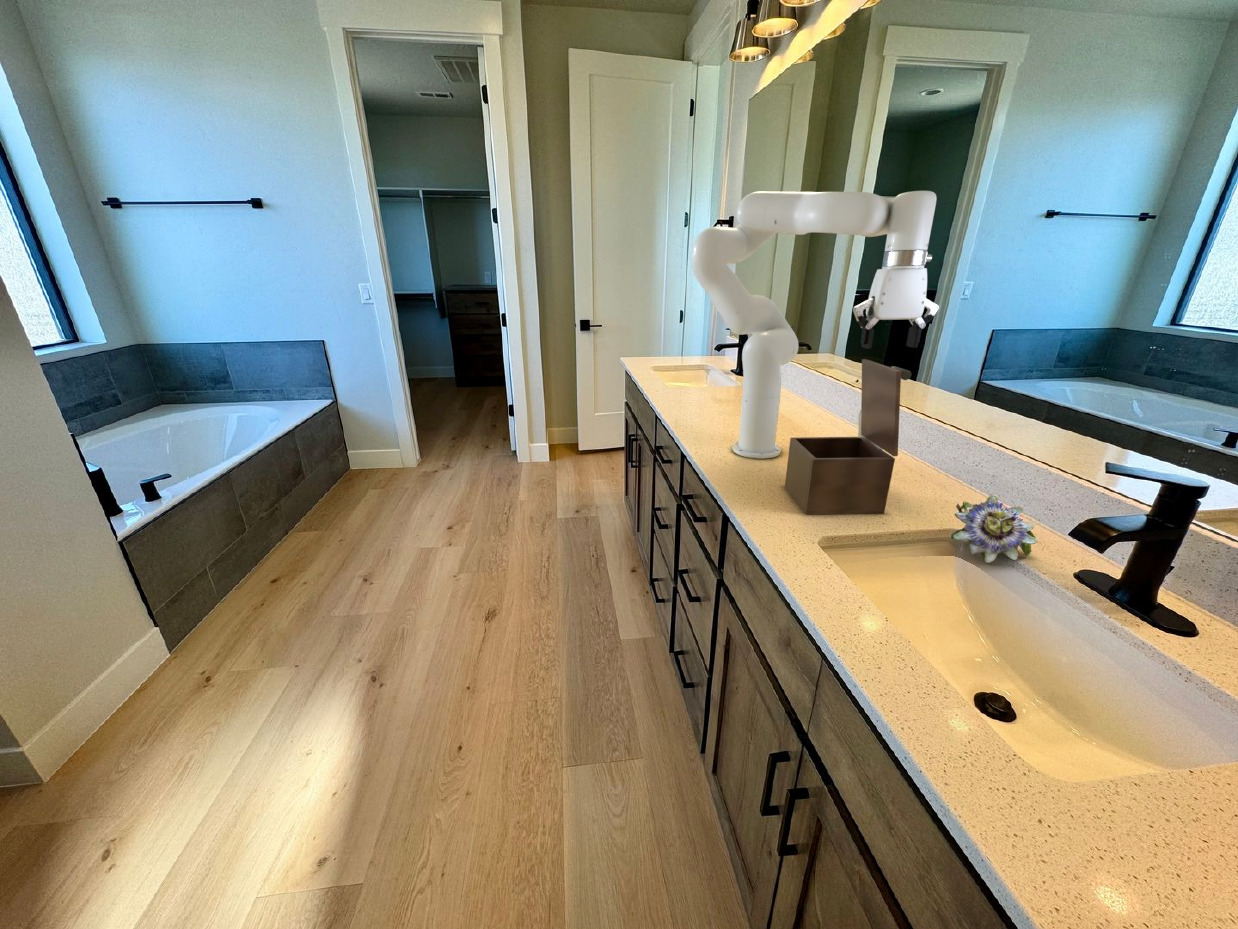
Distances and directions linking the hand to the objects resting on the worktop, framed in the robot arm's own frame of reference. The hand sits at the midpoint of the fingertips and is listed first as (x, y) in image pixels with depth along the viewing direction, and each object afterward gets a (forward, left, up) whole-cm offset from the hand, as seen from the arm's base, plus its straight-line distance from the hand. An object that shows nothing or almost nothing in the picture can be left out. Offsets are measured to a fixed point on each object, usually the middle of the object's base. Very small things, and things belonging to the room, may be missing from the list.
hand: (888, 347), depth 105 cm
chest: (+13, -13, -30) cm, 35 cm away
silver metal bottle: (0, 0, -30) cm, 30 cm away
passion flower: (+34, +5, -30) cm, 45 cm away
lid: (+13, -7, -10) cm, 17 cm away
